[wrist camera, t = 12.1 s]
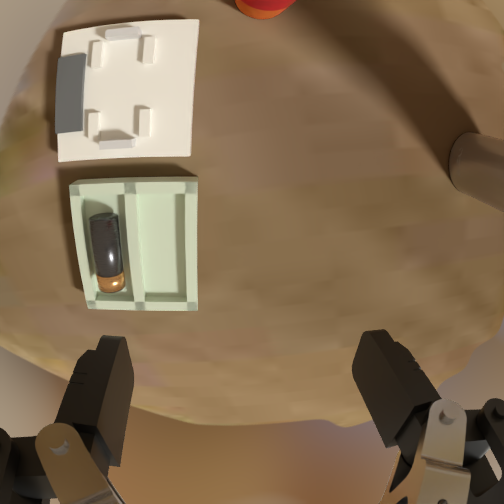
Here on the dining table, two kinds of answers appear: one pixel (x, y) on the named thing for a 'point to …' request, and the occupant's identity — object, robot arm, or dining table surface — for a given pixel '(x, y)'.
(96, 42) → the white battery holder
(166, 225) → the tray
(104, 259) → the cell
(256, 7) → the paper cup
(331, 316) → the dining table surface
